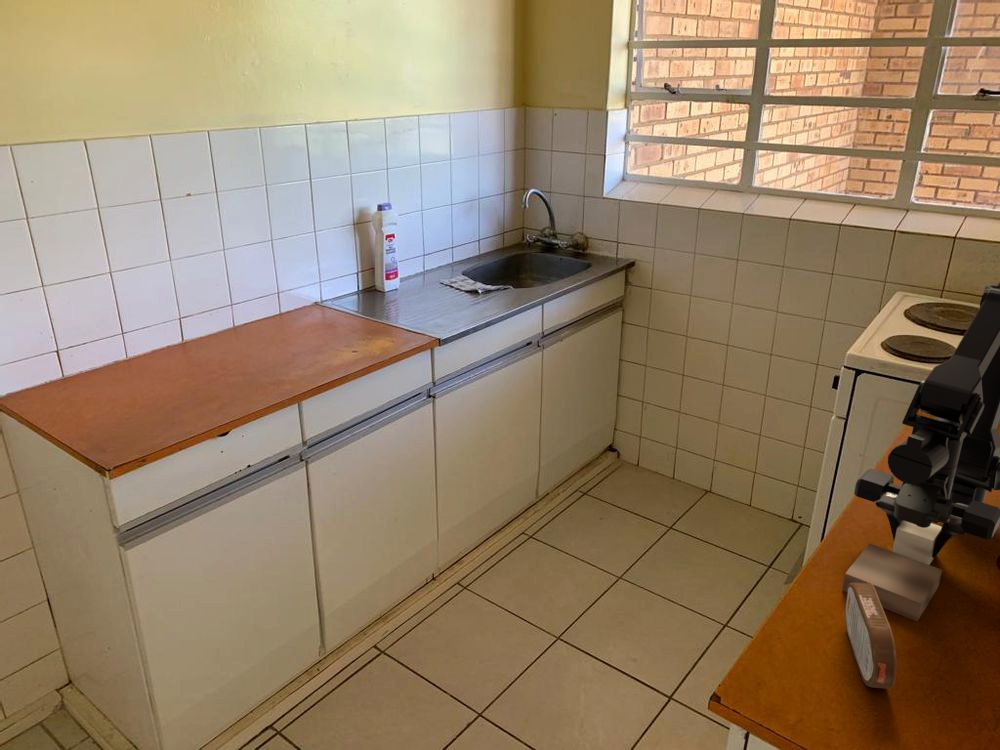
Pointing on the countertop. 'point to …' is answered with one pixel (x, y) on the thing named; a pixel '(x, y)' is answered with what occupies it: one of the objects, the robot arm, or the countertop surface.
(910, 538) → the block
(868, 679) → the tin
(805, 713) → the countertop surface
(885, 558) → the base
